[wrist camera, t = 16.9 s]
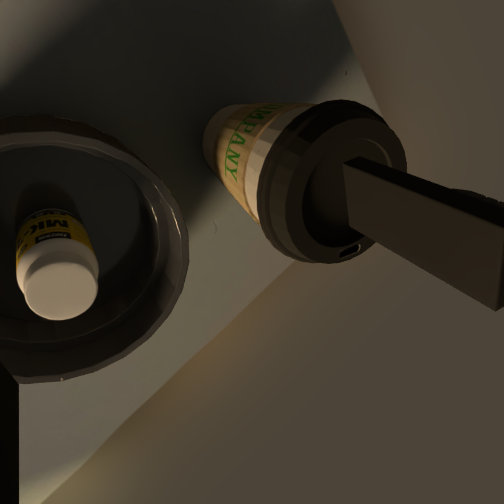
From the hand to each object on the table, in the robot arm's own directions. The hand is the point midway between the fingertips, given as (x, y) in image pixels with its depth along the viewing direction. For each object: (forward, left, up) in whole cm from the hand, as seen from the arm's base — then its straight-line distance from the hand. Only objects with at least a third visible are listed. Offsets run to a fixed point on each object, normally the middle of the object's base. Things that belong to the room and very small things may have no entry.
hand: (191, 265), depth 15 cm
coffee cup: (-11, +4, -21) cm, 24 cm away
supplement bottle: (+5, +5, -20) cm, 22 cm away
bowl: (+5, +5, -21) cm, 22 cm away
